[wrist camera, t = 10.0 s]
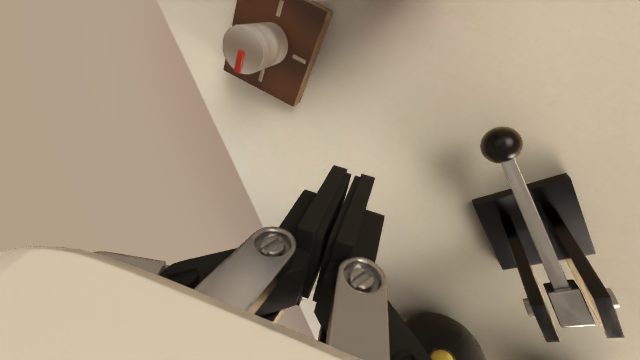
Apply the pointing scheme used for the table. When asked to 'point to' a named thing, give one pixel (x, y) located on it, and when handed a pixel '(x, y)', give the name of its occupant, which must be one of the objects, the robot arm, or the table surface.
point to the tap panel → (303, 43)
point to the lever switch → (567, 241)
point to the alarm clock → (444, 338)
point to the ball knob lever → (537, 229)
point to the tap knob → (254, 46)
